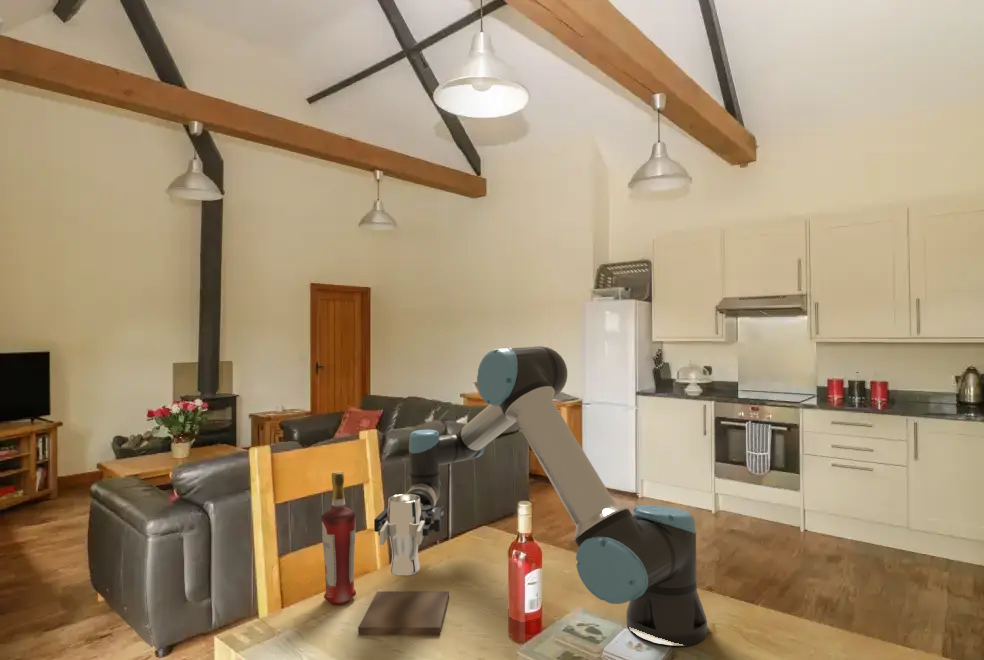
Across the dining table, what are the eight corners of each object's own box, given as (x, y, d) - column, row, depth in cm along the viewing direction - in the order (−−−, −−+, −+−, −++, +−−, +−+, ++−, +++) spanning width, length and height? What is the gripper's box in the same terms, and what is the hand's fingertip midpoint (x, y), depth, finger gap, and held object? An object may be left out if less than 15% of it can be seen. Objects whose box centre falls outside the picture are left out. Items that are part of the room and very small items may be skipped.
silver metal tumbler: (415, 578, 119) (414, 503, 119) (383, 575, 120) (382, 502, 120) (426, 564, 125) (425, 494, 125) (395, 562, 127) (394, 492, 127)
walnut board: (449, 598, 130) (449, 591, 130) (440, 635, 114) (440, 627, 114) (377, 598, 131) (377, 591, 131) (358, 635, 115) (358, 627, 115)
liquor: (319, 597, 132) (317, 471, 132) (352, 590, 135) (350, 467, 135) (327, 611, 125) (324, 478, 125) (361, 603, 129) (358, 474, 129)
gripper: (459, 519, 140) (449, 556, 117) (377, 519, 141) (351, 556, 118) (459, 488, 140) (448, 518, 117) (377, 488, 141) (350, 519, 118)
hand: (399, 537), depth 118 cm, fingers closed on silver metal tumbler, 7 cm apart
